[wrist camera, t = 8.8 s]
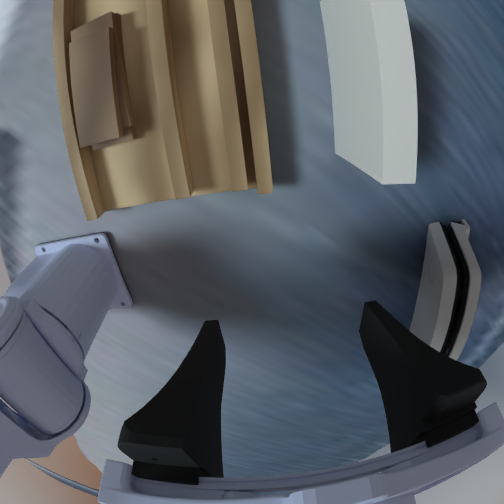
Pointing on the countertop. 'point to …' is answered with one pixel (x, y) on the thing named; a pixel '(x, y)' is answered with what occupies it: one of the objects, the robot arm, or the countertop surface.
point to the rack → (172, 103)
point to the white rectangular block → (373, 86)
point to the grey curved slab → (447, 290)
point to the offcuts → (100, 83)
